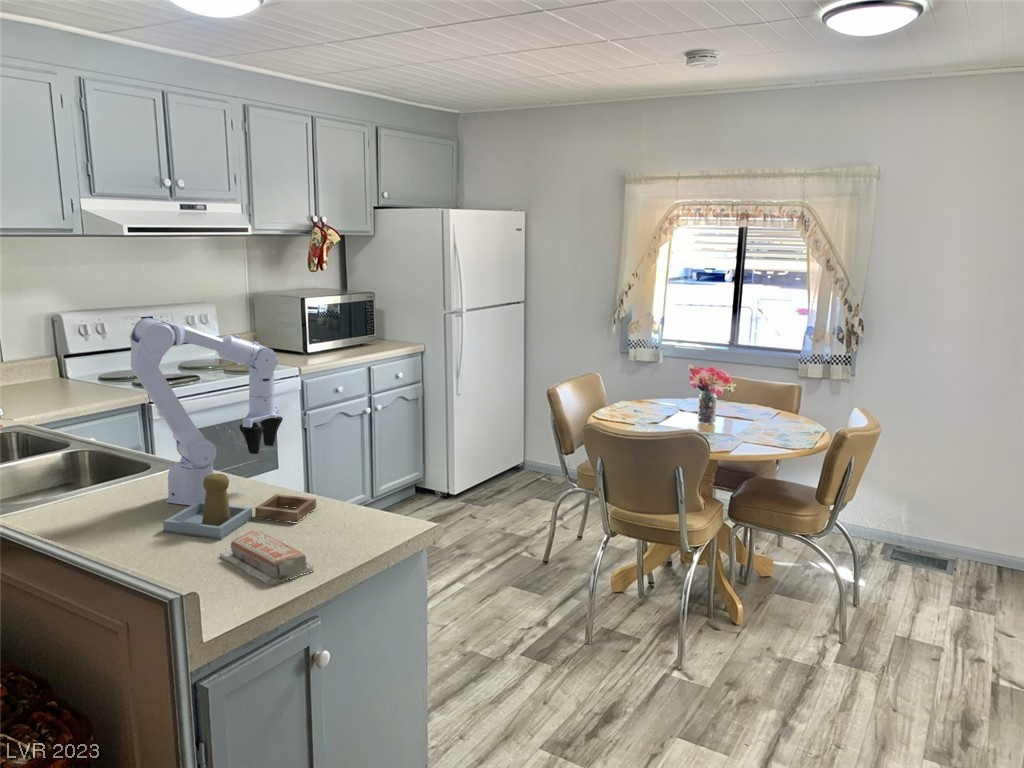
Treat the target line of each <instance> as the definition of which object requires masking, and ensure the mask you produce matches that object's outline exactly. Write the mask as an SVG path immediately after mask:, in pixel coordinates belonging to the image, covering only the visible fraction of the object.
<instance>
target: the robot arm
mask: <svg viewBox="0 0 1024 768" xmlns="http://www.w3.org/2000/svg"><path fill="white" fill-rule="evenodd" d="M129 339H130V368H131V370H132V372H133V373H134V376H136V378H137V379H138V381H139V383H140V384H141V386H142V387H143V389H144V390H145V392H146V393H147V395H148V396H149V398H150V399H151V401H152V403H153V404H154V405H155V407H156V409H157V410H158V412H159V414H160V415H161V416H162V418H163V420H164V421H165V424H167V426H168V428H169V429H170V431H171V432H172V438H174V441H175V444H176V445H175V446H176V451H177V453H178V454H179V455H180V456H181V458H180V459H179V461H176V462H174V463H172V465H171V466H170V467H169V470H168V473H167V491H168V493H167V495H168V496H167V497H168V498H167V500H166V503H168V504H170V503H171V504H176V505H182V506H189V507H190V506H191V505H193V504H195V503H197V502H199V501H200V502H205V496H206V490H205V488H204V486H203V481H204V479H205V477H206V476H208V475H210V474H214V461H215V459H216V457H217V453H218V452H217V448H216V446H215V444H214V443H213V442H212V441H210V440H209V439H208V440H207V439H206V437H205V436H204V435H203V433H202V432H201V430H199V428H198V427H197V426H196V425H195V424H194V422H193V419H191V416H189V413H188V412H187V411H186V409H185V408H184V406H183V404H182V403H181V402H180V400H179V398H178V396H177V395H176V393H175V392H174V389H173V388H172V387H171V385H170V384H169V382H168V380H167V379H166V377H165V375H164V374H163V372H162V370H161V369H160V364H161V362H162V360H163V357H164V356H165V355H166V354H167V353H168V352H169V350H170V349H171V348H172V347H173V345H174V346H176V347H177V346H180V345H182V344H186V343H188V344H190V345H191V344H192V345H195V346H198V347H202V348H205V349H208V350H213V351H216V352H217V354H218V356H219V358H220V359H223V360H226V361H230V362H232V363H236V364H239V365H242V366H247V367H249V370H248V371H249V372H248V373H249V375H248V381H249V382H248V383H249V384H248V387H249V389H248V390H249V391H248V392H249V393H248V402H249V403H248V409H249V410H248V413H247V414H246V416H245V417H244V418H242V423H241V424H239V430H240V432H241V433H242V436H243V437H244V440H245V442H246V446H247V450H248V453H249V454H251V455H258V454H259V453H260V447H261V439H262V438H263V445H264V446H268V447H274V445H275V442H276V437H277V433H278V431H279V428H280V426H281V424H282V422H283V416H279V415H280V407H279V406H275V377H274V376H275V369H276V368H277V367H278V364H279V358H278V357H277V354H276V352H275V351H274V349H272V348H269V347H267V346H264V345H262V344H260V343H259V342H258V341H255V340H254V341H252V342H251V341H249V340H246V339H242V338H241V336H240V335H238V334H235V333H233V335H231V334H228V335H225V336H222V337H218V336H215V335H212V334H210V333H208V332H207V333H206V332H204V331H201V330H197V329H195V328H193V327H189V326H187V325H184V324H182V323H177V322H172V321H166V320H160V321H158V320H157V319H156V318H152V317H145V318H141V319H139V320H138V321H137V322H136V323H135V324H134V326H133V328H132V330H131V332H130V335H129ZM258 423H260V425H261V426H260V425H259V424H258Z"/></svg>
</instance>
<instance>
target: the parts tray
mask: <svg viewBox="0 0 1024 768" xmlns="http://www.w3.org/2000/svg"><path fill="white" fill-rule="evenodd" d="M204 504H205V502H200V501H199V502H197V503H195V504H193V505H191V506H190V505H189V506H188V507H186V508H185V509H183V510H181V511H178V512H177V513H175V514H174V515H172V516H170V517H168V518H166V519H165V520H163V532H164V533H166V532H167V534H173V533H174V534H173V535H180V534H181V536H188V537H197V538H203V539H212V540H219V541H221V540H223V539H225V538H226V537H227V536H229V535H230V534H232V533H233V532H235V531H237V530H238V529H239V528H241V527H242V526H243V524H244V525H245V524H246V522H247V521H248V522H249V520H250V519H251V520H252V519H253V507H246V506H240V505H239V506H238V505H230V504H229V509H230V516H231V519H229V520H228V521H226V522H225V523H223V524H222V525H220V526H213V525H205V524H202V520H203V512H204ZM251 520H250V521H251ZM248 522H247V523H248ZM241 525H242V526H241ZM240 526H241V527H240ZM238 527H239V528H238ZM237 528H238V529H237ZM234 530H235V531H234ZM231 532H232V533H231ZM228 534H229V535H228Z"/></svg>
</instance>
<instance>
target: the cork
mask: <svg viewBox="0 0 1024 768" xmlns="http://www.w3.org/2000/svg"><path fill="white" fill-rule="evenodd" d="M229 484H230V479H229V477H228V475H226V474H223V473H213V474H210V475H208V476H206V477H205V479H204V481H203V486H204V488H205V490H206V496H205V504H204V512H203V520H202V524H205V525H213V526H220V525H222V524H223V523H225V522H226V521H228V520H229V519H231V516H230V509H229V505H230V504H229V498H228V497H229V496H228V492H227V491H228V489H229Z"/></svg>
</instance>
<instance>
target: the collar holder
mask: <svg viewBox="0 0 1024 768" xmlns="http://www.w3.org/2000/svg"><path fill="white" fill-rule="evenodd" d="M281 506H288V507H287V508H289V507H297V508H295V509H293V510H292V509H285V508H278V507H281ZM276 507H277V508H276ZM315 508H316V509H317V498H312V497H304V496H297V495H289V494H281V493H275V494H273V496H271V497H269V498H267V499H266V500H265V501H264V502H262V503H260V504H258V505H257V506H256V507H255V512H254V513H255V519H257V518H263V519H262V520H265V519H271V520H270V521H273V520H279V521H278V522H280V521H291V522H298V521H299V520H300V519H302V518H303V517H304V516H306V515H307V514H308V513H310V512H311V511H312V510H314V509H315ZM314 511H315V510H314ZM310 514H311V513H310ZM306 517H307V516H306Z"/></svg>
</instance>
